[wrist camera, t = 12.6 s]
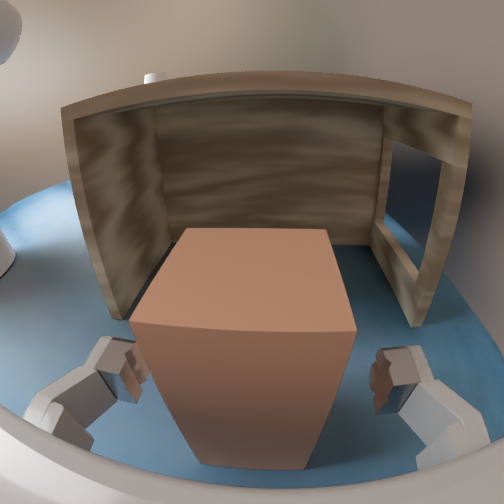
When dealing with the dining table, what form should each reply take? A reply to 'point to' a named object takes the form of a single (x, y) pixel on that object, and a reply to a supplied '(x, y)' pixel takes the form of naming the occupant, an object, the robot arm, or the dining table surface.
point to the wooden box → (258, 168)
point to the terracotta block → (248, 342)
